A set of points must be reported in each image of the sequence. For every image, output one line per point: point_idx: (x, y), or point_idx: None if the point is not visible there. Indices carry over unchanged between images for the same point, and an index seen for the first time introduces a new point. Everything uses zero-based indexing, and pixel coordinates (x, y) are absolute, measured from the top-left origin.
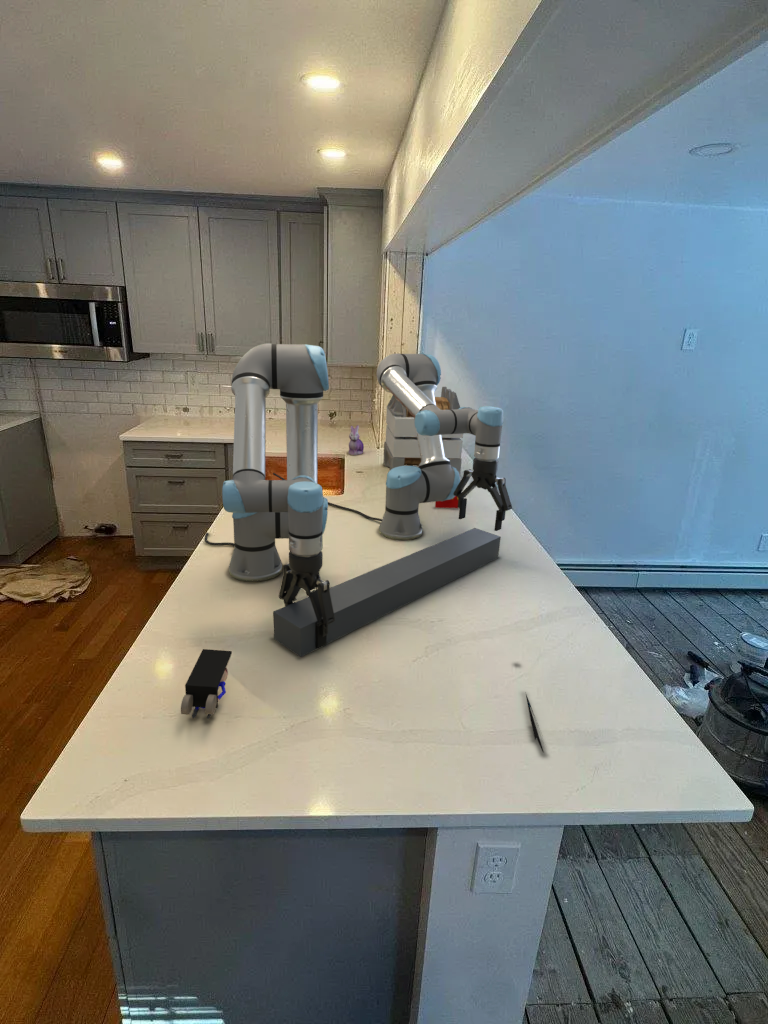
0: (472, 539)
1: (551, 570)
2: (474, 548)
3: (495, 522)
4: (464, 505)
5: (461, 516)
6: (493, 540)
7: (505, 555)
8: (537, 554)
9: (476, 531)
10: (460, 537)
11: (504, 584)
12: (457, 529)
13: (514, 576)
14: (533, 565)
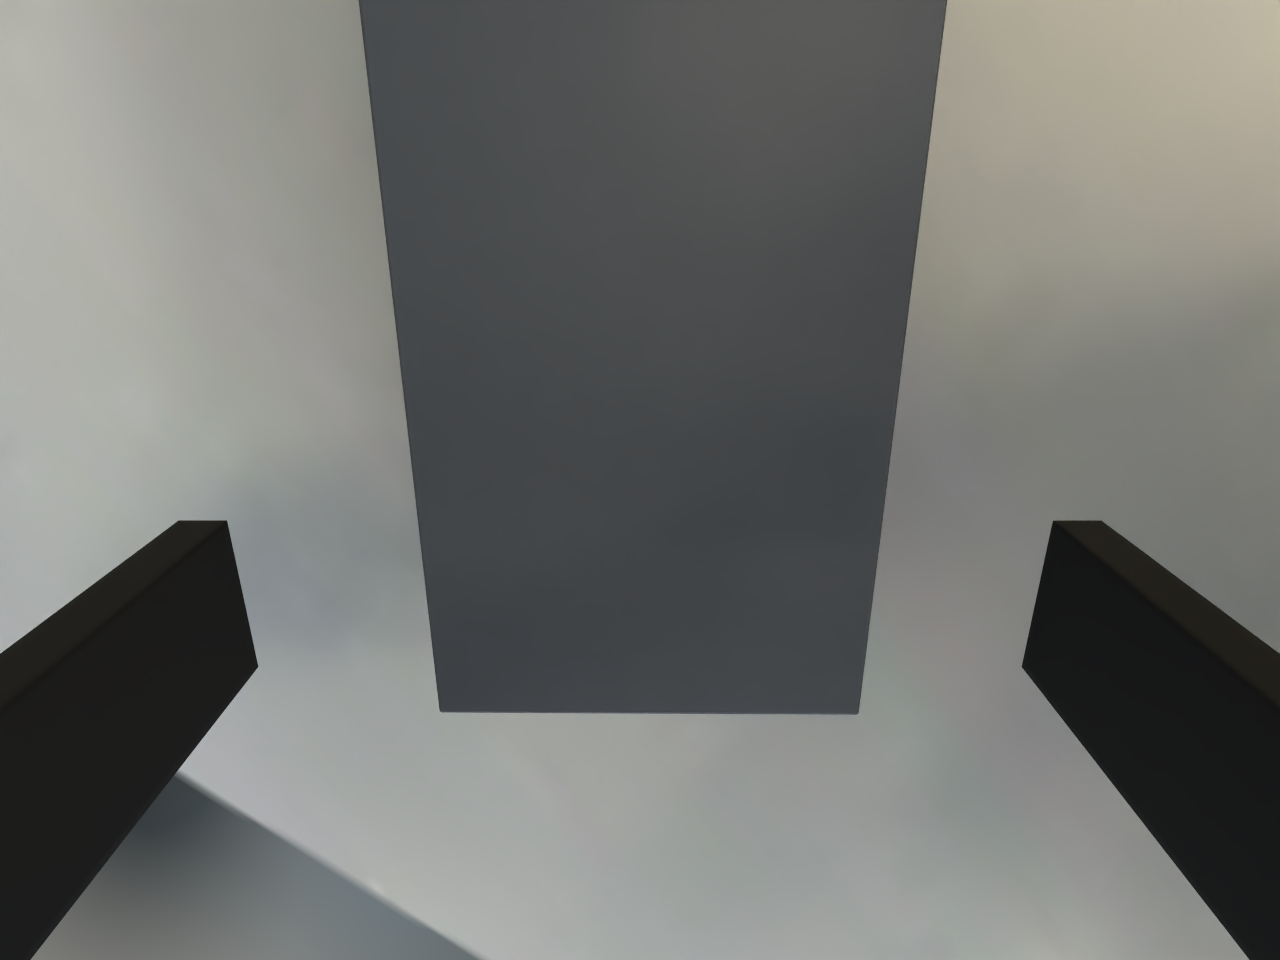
0: (629, 334)
1: None
2: (363, 17)
3: (113, 610)
4: (1225, 820)
5: (1077, 574)
6: (423, 550)
7: None
8: (331, 850)
9: (766, 627)
10: (814, 255)
11: (13, 58)
12: None
13: (110, 324)
14: None
